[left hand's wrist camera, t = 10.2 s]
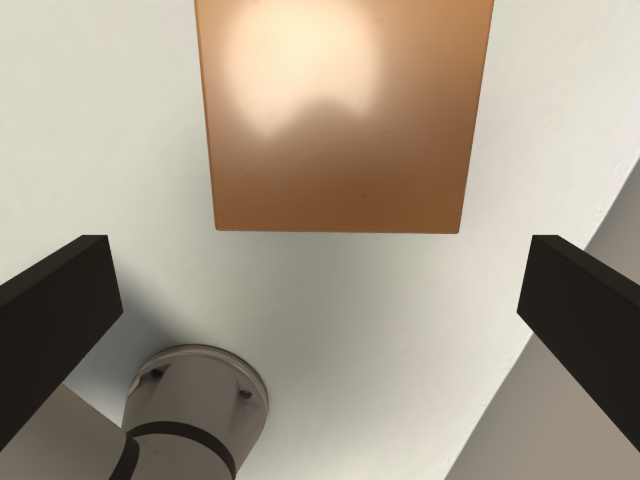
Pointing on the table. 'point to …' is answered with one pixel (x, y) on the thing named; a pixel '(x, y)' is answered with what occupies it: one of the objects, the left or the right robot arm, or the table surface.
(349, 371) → the table surface
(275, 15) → the bar
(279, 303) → the table surface
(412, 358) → the table surface
